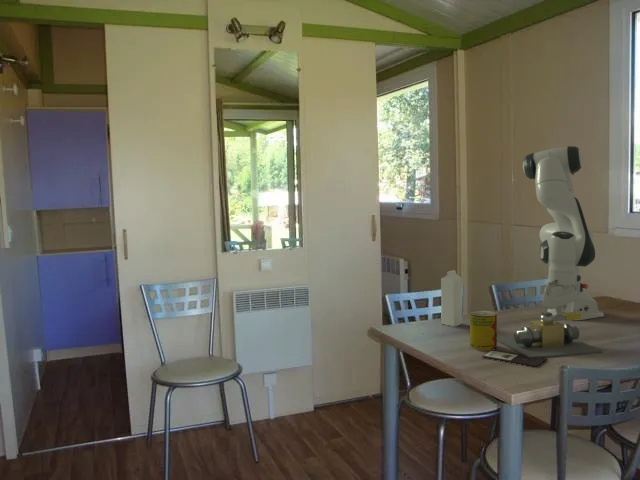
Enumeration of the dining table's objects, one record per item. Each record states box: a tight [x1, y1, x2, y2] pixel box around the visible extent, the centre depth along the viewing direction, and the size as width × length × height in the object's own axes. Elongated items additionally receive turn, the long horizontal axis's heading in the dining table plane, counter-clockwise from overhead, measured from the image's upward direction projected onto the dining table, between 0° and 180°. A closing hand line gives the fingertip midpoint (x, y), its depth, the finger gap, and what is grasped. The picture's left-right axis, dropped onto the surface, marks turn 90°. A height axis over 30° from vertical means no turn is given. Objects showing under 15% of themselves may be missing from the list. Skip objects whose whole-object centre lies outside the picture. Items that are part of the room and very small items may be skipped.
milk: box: [440, 269, 463, 327], centre depth 234 cm, size 6×6×22 cm
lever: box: [540, 311, 581, 323], centre depth 201 cm, size 15×4×3 cm, turn 106°
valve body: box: [513, 319, 580, 348], centre depth 201 cm, size 22×8×8 cm, turn 100°
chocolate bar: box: [481, 349, 548, 368], centre depth 188 cm, size 9×1×18 cm
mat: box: [497, 336, 603, 358], centre depth 201 cm, size 26×23×1 cm
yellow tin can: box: [469, 309, 498, 351], centre depth 202 cm, size 9×9×12 cm
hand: (560, 316), depth 205 cm, fingers closed
